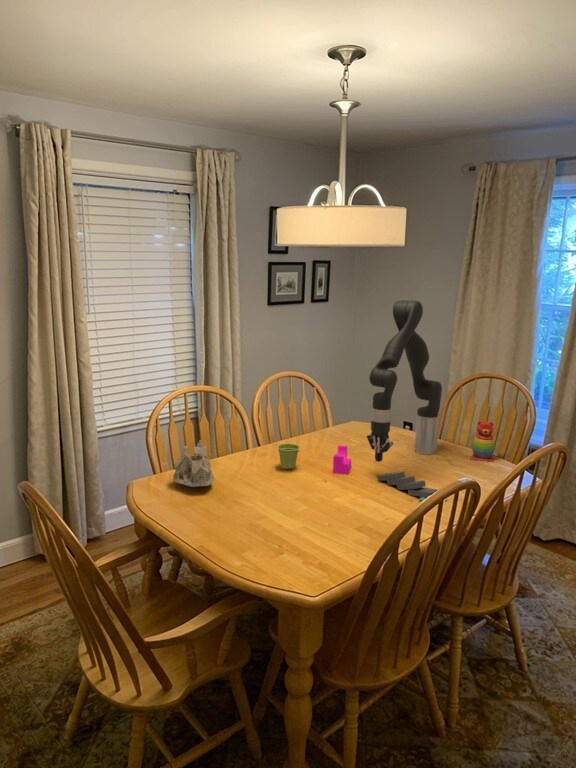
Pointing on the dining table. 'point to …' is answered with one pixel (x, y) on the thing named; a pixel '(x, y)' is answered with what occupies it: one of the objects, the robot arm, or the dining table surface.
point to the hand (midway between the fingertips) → (378, 461)
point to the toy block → (341, 461)
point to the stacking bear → (483, 443)
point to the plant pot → (288, 455)
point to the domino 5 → (422, 499)
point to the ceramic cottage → (194, 468)
